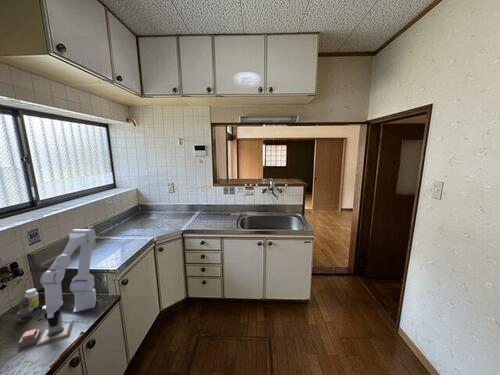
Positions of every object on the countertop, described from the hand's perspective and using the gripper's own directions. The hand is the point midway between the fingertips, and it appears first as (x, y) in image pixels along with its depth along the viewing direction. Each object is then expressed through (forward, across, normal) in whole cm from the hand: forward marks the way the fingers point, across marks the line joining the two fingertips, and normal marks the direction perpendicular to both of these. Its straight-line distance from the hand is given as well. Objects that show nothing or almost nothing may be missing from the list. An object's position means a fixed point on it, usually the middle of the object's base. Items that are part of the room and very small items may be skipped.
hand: (55, 322), depth 101 cm
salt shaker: (+6, -21, -16) cm, 27 cm away
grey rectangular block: (+3, 0, 0) cm, 3 cm away
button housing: (+6, 0, -9) cm, 10 cm away
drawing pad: (+6, 0, 0) cm, 6 cm away
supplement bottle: (+6, -31, -16) cm, 35 cm away
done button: (+3, 0, -9) cm, 9 cm away
